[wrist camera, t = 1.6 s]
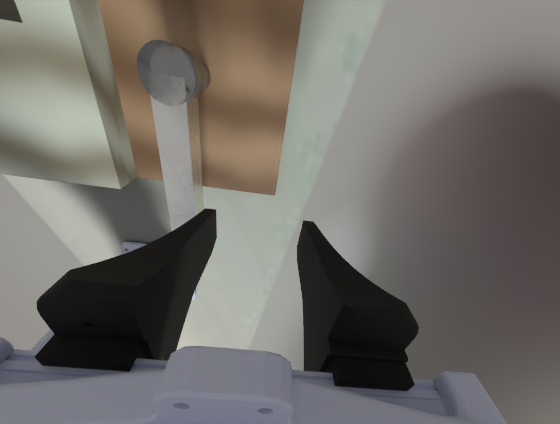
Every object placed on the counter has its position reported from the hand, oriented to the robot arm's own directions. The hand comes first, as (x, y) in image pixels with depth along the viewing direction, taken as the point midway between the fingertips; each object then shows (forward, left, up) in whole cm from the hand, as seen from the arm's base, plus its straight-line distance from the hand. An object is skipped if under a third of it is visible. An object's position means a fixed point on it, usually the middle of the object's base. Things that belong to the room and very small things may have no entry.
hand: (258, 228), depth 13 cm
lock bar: (+2, +6, -5) cm, 8 cm away
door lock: (+6, +11, -9) cm, 15 cm away
